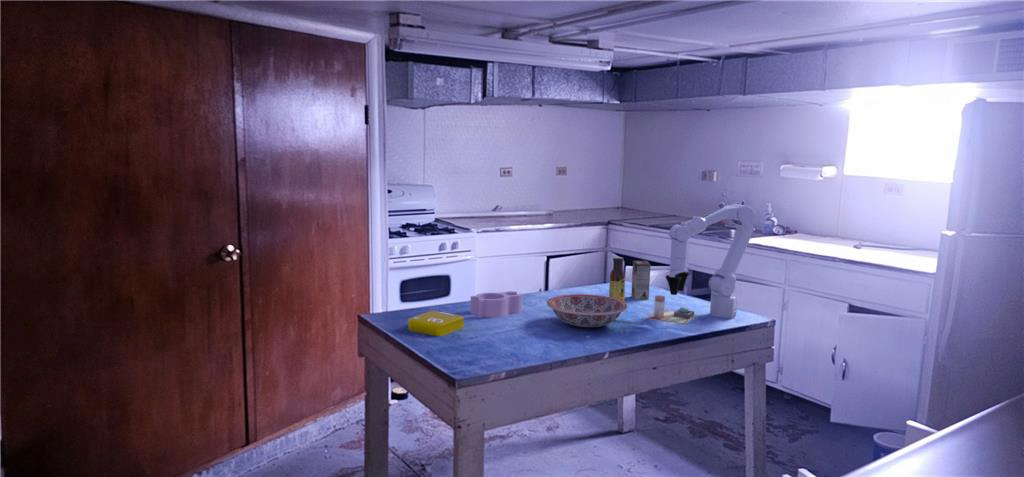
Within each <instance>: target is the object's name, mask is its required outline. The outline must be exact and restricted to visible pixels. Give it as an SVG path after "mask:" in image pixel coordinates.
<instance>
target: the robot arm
mask: <svg viewBox="0 0 1024 477" xmlns="http://www.w3.org/2000/svg"><path fill="white" fill-rule="evenodd" d="M756 215H757V214H755V210H754V209H753V208H752V207H751V206H750V205H744V204H739V203H735V202H733V203H730V204H729V205H724V206H723V207H722V208H720V209H718V210H716V211H715V212H712V213H710V214H708V215H706V216H704V217H701V216H696V215H695V216H692V219H690V220H687V221H682V222H681V223H680V224H674V225H672V226H671V228H670V229H669V231H668V236H669V238H670V239H671V241H670V242H671V243H670V244H671V245H670V265H669V267H666V270H667V271H668V274H666V275H665V279H666V281H667V283H668V286H669V287H668V288H669V293H670V295H671V296H672V295H673V296H677V295H678V292H683V291H684V288H685V285H686V281H687V279H688V277H689V276H690V272H689V271H687V251H688V250H687V249H688V241H689V240H690V237H693V236H696V235H698V234H700V233H702V232H704V231H706V229H707V227H709V226H711V225H713V224H716V223H718V222H722V221H725V220H730V221H731V222H732V223H733V224H734V226H735V228H736V233H735V235H734V237H733V239H732V242H731V244H730V247H729V248H728V251H727V253H726V256H725V257H724V259H723V262H722V264H721V266H720V268H719V269H717V270H716V271H715V272H714V274H713V275H712V276H711V277H710V278H709V281H708V288H709V289H710V306H709V307H710V310H709V315H710V316H712V317H716V318H724V319H730V320H731V319H734V318H735V317H736V316H737V307H738V297H737V296H733V295H732V294H734V292H735V289H736V282H737V277H736V275H735V274H736V272H737V269H738V267H739V265H740V263H741V260H742V258H743V256H744V254H745V251H746V249H747V246H748V244H749V243H750V239H751V237H752V236H753V233H754V226H755V225H754V222H755V218H756Z"/></svg>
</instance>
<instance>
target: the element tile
mask: <svg viewBox="0 0 1024 477" xmlns="http://www.w3.org/2000/svg"><path fill="white" fill-rule="evenodd" d="M464 318H465V317H464V316H463V315H459V314H453V313H449V312H448V313H447V312H444V311H443V312H442V311H437V310H430V311H426V312H424V313H422V314H418V315H415V316H413V317H409V318H408V319H407V320H408V327H407V328H408V329H407V330H408V331H410V332H415V333H419V334H426V335H430V336H435V337H444V336H446V335H449V334H451V333H453V332H456V331H458V330H461V329H463V328H464V326H465V324H464V323H465V322H464Z"/></svg>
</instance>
